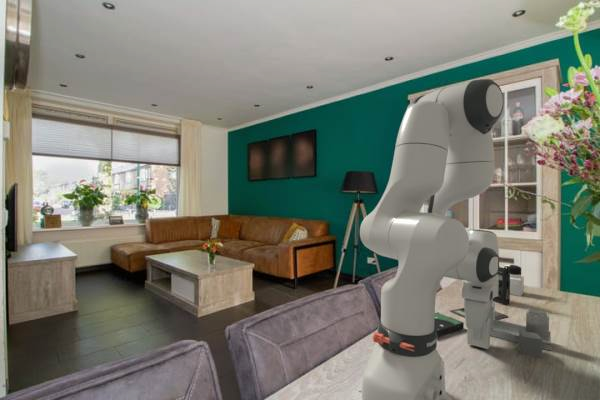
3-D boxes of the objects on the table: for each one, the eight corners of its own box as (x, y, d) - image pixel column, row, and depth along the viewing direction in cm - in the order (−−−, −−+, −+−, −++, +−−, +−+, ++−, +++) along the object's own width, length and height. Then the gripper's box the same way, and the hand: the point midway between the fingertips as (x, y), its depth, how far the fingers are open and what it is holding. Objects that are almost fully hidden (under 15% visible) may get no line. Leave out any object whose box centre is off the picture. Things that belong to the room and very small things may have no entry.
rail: (550, 350, 82) (551, 317, 82) (472, 331, 94) (472, 302, 94) (550, 342, 87) (550, 310, 86) (475, 324, 98) (475, 297, 98)
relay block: (541, 358, 78) (541, 339, 78) (523, 355, 80) (523, 336, 80) (536, 351, 82) (536, 333, 82) (518, 348, 83) (519, 330, 83)
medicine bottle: (523, 292, 131) (524, 265, 131) (521, 296, 126) (521, 268, 126) (504, 289, 136) (504, 263, 136) (501, 292, 131) (501, 265, 131)
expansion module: (488, 349, 81) (488, 323, 81) (467, 343, 84) (467, 318, 84) (489, 343, 85) (490, 318, 85) (469, 338, 88) (470, 314, 88)
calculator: (508, 315, 105) (479, 322, 99) (508, 318, 105) (479, 325, 99) (477, 304, 116) (449, 310, 110) (477, 306, 116) (449, 312, 110)
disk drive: (433, 341, 88) (464, 330, 95) (433, 332, 88) (464, 321, 95) (405, 327, 98) (436, 318, 104) (405, 319, 97) (436, 310, 104)
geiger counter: (478, 297, 125) (479, 261, 125) (486, 296, 127) (486, 260, 127) (503, 305, 115) (504, 267, 115) (511, 304, 117) (512, 266, 117)
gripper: (472, 277, 95) (471, 321, 95) (460, 293, 78) (459, 345, 79) (496, 281, 91) (495, 326, 91) (488, 298, 75) (487, 353, 75)
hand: (478, 335), depth 84 cm, fingers closed on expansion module, 4 cm apart
